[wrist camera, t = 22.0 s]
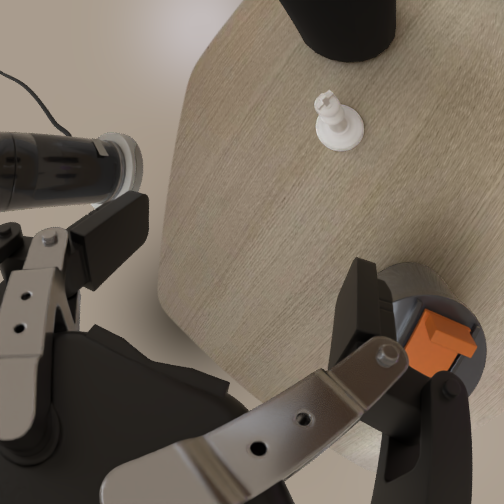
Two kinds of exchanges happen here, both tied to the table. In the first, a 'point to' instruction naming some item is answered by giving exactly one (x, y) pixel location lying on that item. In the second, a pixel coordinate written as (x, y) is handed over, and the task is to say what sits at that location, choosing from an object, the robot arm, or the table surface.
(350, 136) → the chess piece
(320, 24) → the coffee jar
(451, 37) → the table surface
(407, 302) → the travel cup
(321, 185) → the table surface
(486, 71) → the table surface
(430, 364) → the lid slider
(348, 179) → the table surface
